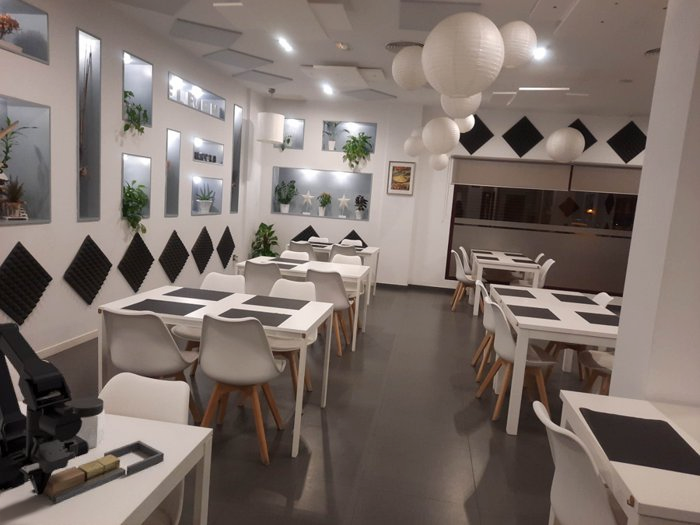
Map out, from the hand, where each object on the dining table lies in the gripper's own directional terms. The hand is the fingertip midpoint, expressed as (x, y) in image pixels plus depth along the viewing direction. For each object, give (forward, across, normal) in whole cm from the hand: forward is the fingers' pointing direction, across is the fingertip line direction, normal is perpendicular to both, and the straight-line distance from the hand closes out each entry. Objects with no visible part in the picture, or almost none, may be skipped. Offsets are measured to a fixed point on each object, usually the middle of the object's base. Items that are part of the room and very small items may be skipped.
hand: (39, 494), depth 111 cm
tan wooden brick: (+1, +5, 0) cm, 5 cm away
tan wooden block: (+1, +16, 0) cm, 16 cm away
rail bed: (+2, +10, 0) cm, 10 cm away
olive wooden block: (+1, +12, 0) cm, 12 cm away
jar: (+2, +20, +18) cm, 27 cm away
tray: (+2, +23, 0) cm, 23 cm away
